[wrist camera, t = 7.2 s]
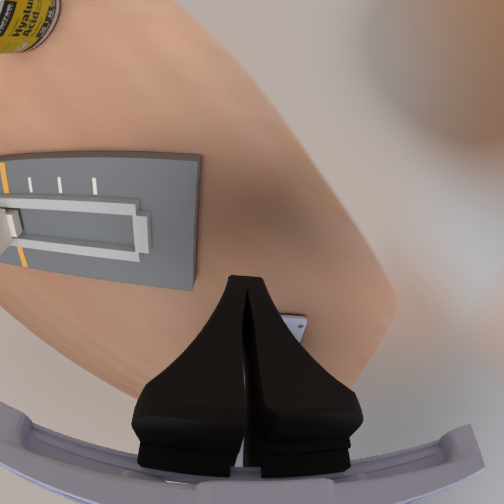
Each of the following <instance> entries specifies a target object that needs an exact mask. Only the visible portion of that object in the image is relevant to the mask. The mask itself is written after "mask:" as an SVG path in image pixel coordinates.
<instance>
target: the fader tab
mask: <svg viewBox="0 0 504 504" xmlns="http://www.w3.org/2000/svg"><path fill="white" fill-rule="evenodd" d="M22 232H23V230H22V226H21V222H20V218H19V213H18V210H16V209H0V255H1V254H2V253H3V252H4V251H5V250H6V249H7V248H8V247H9V245H10V244H11V243H12V242H13V240H12V237H18V236H19V235H20V234H21V233H22Z"/></svg>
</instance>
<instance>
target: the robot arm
mask: <svg viewBox="0 0 504 504" xmlns="http://www.w3.org/2000/svg"><path fill="white" fill-rule="evenodd" d="M301 324H302V325H301ZM306 325H307V318H306V317H305V316H293V315H280V314H279V312H278V310H277V308H276V307H275V305H274V303H273V301H272V299H271V297H270V295H269V293H268V290H267V288H266V286H265V283H264V280H263V279H262V278H261V277H250V276H238V275H231V276H229V277H228V282H227V285H226V288H225V291H224V293H223V295H222V297H221V299H220V301H219V303H218V305H217V307H216V309H215V311H214V312H213V314H212V315H211V317H210V319H209V320H208V322H207V323H206V325H205V326H204V328H203V329H202V330H201V332H200V333H199V334H198V336H197V337H196V338H195V339H194V340H193V342H192V343H191V344H190V345H189V346H188V347H187V349H186V350H185V351H184V352H183V353H182V354H181V355H180V356H179V357H178V358H177V359H176V360H175V361H174V362H173V363H171V364H170V365H169V366H168V367H167V368H166V369H165V370H164V371H163V372H161V373H160V374H159V375H157V376H156V377H155V378H154V379H152V380H151V381H150V382H148V383H147V384H146V385H145V387H144V389H143V391H142V393H141V394H140V397H139V399H138V401H137V404H136V406H135V409H134V414H133V418H132V423H131V424H132V428H133V430H134V432H135V433H136V435H137V437H138V438H139V440H140V447H139V453H138V455H136V454H131V453H126V452H122V451H117V450H114V449H110V448H106V447H102V446H99V445H95V444H91V443H88V442H84V441H81V440H79V439H75V438H72V437H69V436H66V435H64V434H61V433H58V432H55V431H53V430H50V429H47V428H45V427H42V426H40V425H37V424H35V423H32V421H31V420H30V418H29V417H28V416H26V415H25V414H24V413H22V412H21V411H19V410H16V409H15V408H13V407H10V406H8V405H6V404H4V403H2V402H0V465H1V466H3V467H4V468H6V469H8V470H9V471H11V472H12V473H14V474H16V475H18V476H19V477H21V478H23V479H25V480H27V481H29V482H32V483H33V484H35V485H38V486H39V487H42V488H44V489H46V490H48V491H50V492H53V493H55V494H57V495H60V496H62V497H65V498H67V499H70V500H72V501H75V502H77V503H80V504H413V503H416V502H418V501H421V500H423V499H426V498H429V497H431V496H434V495H436V494H438V493H441V492H443V491H445V490H448V489H450V488H452V487H454V486H456V485H458V484H460V483H462V482H463V481H465V480H467V479H469V478H470V477H472V476H474V475H476V474H478V473H479V472H481V471H483V470H484V469H485V465H484V462H483V458H482V456H481V452H480V450H479V447H478V444H477V441H476V438H475V435H474V433H473V430H472V427H471V425H470V424H467V425H464V426H462V427H459V428H456V429H453V430H451V431H449V432H448V433H446V434H445V435H443V436H442V437H441V438H440V439H439V440H436V441H433V442H430V443H427V444H423V445H419V446H416V447H412V448H408V449H404V450H400V451H396V452H392V453H387V454H382V455H377V456H372V457H367V458H361V459H356V460H350V457H349V452H348V449H349V448H350V446H351V444H350V439H349V437H350V436H351V435H352V434H353V433H354V432H355V431H356V430H357V429H358V428H359V427H360V425H361V424H362V422H363V414H362V410H361V407H360V404H359V402H358V399H357V397H356V395H355V393H354V392H353V391H352V390H350V389H349V388H347V387H346V386H345V385H343V384H342V383H340V382H339V381H338V380H336V379H335V378H334V377H333V376H332V375H330V374H329V373H328V372H327V371H326V370H325V369H324V368H323V367H322V366H320V365H319V364H318V363H317V362H316V361H315V360H314V359H313V358H312V357H311V356H310V354H309V353H308V352H307V351H306V350H305V349H304V348H303V346H302V345H301V344H300V341H301V338H302V336H303V333H304V330H305V328H306ZM165 480H166V481H173V482H180V483H188V484H180V483H168V482H166V481H165Z"/></svg>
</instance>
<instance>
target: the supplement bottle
mask: <svg viewBox="0 0 504 504" xmlns="http://www.w3.org/2000/svg"><path fill="white" fill-rule="evenodd" d="M58 13H59V0H0V54H2V53H20V52H26V51H29V50H31V49H33V48H35V47H36V46H38V45H39V44H40V43H42V42H43V41H44V40H45V38H46V37H47V36H48V35H49V33H50V32H51V30H52V29H53V27H54V25H55V23H56V20H57V17H58Z"/></svg>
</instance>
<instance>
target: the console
mask: <svg viewBox="0 0 504 504" xmlns="http://www.w3.org/2000/svg"><path fill="white" fill-rule="evenodd" d="M200 167H201V155H196V154H181V153H164V152H138V151H70V152H47V153H30V154H17V155H6V156H0V209H16V210H18V213H19V218H20V222H21V226H22V230H23V232H22V233H21V234H20V235H19V236H18V237H12V240H13V242H12V243H11V244H10V245H9V247H8V248H7V249H6V250H5V251H4V252H3V253H2V254H1V255H0V263H5V264H10V265H16V266H21V267H26V268H32V269H38V270H43V271H49V272H55V273H61V274H68V275H74V276H80V277H87V278H94V279H100V280H107V281H114V282H122V283H129V284H137V285H145V286H153V287H161V288H169V289H178V290H187V291H193V287H194V283H195V275H196V241H197V217H198V198H199V182H200Z"/></svg>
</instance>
